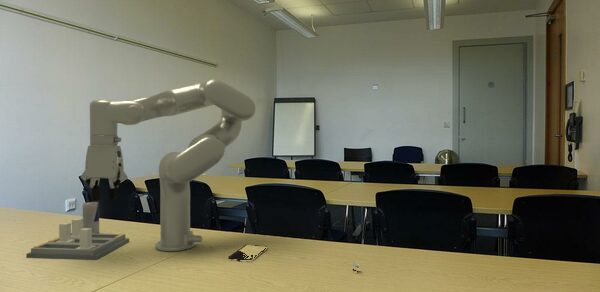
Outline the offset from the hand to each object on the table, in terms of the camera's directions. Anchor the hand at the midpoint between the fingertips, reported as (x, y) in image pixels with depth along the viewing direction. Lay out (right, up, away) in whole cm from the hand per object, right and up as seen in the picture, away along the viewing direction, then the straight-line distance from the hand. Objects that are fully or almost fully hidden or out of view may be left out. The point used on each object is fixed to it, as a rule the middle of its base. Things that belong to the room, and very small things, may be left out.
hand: (104, 200), depth 123 cm
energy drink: (-17, -17, +25) cm, 35 cm away
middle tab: (-17, -16, +8) cm, 24 cm away
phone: (+44, -18, +4) cm, 47 cm away
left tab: (-6, -16, +1) cm, 17 cm away
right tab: (-16, -15, +15) cm, 27 cm away
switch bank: (-11, -17, +8) cm, 22 cm away
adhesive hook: (+77, -19, -11) cm, 80 cm away
